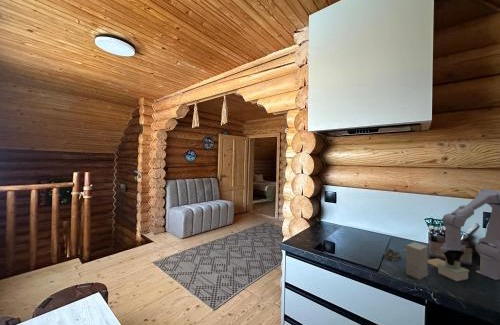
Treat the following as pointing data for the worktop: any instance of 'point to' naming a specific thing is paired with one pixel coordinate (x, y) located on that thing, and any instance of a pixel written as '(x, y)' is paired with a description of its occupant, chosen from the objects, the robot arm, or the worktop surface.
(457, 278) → the box
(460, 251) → the robot arm
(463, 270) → the lid
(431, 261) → the cork mat
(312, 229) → the worktop surface
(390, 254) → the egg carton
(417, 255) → the skincare box
